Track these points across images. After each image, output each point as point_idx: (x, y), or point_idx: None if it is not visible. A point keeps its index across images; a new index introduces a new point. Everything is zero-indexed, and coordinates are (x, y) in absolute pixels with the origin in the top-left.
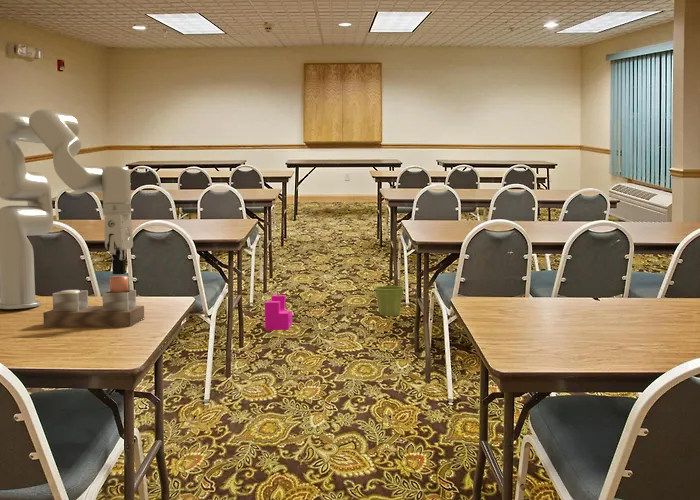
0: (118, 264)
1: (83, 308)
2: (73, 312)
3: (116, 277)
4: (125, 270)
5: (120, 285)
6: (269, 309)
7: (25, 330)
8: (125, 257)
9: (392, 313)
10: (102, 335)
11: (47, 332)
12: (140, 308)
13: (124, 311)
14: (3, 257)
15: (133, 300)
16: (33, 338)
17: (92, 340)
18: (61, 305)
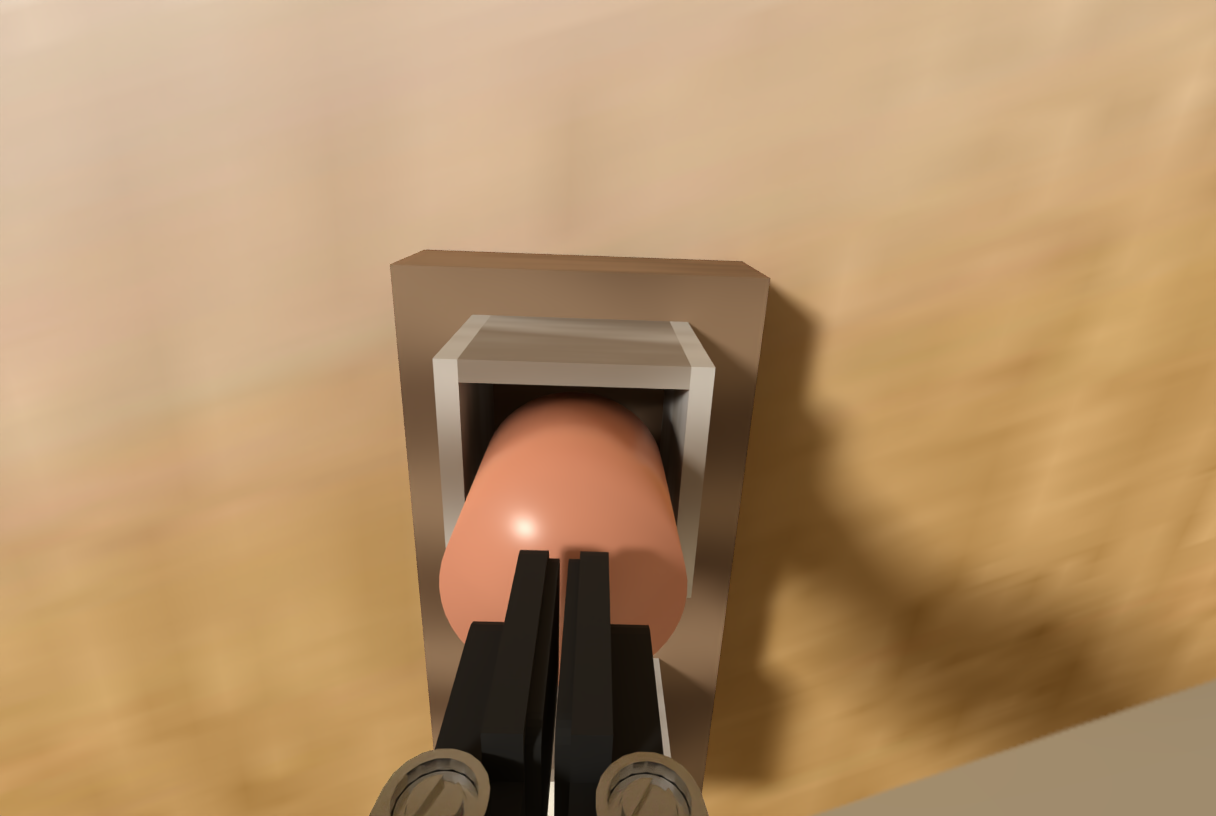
0: (659, 727)
1: None
2: (717, 662)
3: (666, 591)
4: (522, 573)
5: (666, 488)
6: None
7: (773, 765)
8: (388, 798)
9: None
10: (1038, 346)
11: (853, 660)
12: (494, 267)
13: (725, 337)
14: None
15: (531, 333)
16: (1009, 659)
17: (1189, 352)
18: None
